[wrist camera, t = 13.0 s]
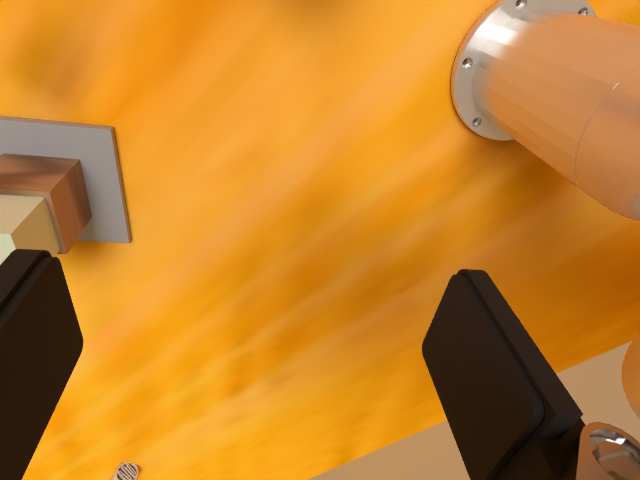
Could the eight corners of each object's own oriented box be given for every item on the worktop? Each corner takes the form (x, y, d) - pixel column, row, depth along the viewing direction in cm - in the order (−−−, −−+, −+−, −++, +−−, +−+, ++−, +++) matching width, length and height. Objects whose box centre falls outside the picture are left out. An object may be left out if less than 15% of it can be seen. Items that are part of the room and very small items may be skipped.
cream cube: (44, 197, 30) (10, 234, 26) (60, 249, 33) (31, 289, 29) (-29, 192, 30) (-76, 230, 26) (-7, 246, 33) (-46, 287, 28)
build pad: (113, 126, 35) (110, 129, 34) (131, 238, 41) (129, 243, 41) (-43, 111, 33) (-50, 115, 32) (2, 231, 39) (-2, 236, 39)
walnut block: (79, 159, 35) (49, 192, 30) (92, 216, 39) (66, 254, 34) (4, 153, 34) (-40, 186, 29) (23, 212, 38) (-13, 250, 33)
